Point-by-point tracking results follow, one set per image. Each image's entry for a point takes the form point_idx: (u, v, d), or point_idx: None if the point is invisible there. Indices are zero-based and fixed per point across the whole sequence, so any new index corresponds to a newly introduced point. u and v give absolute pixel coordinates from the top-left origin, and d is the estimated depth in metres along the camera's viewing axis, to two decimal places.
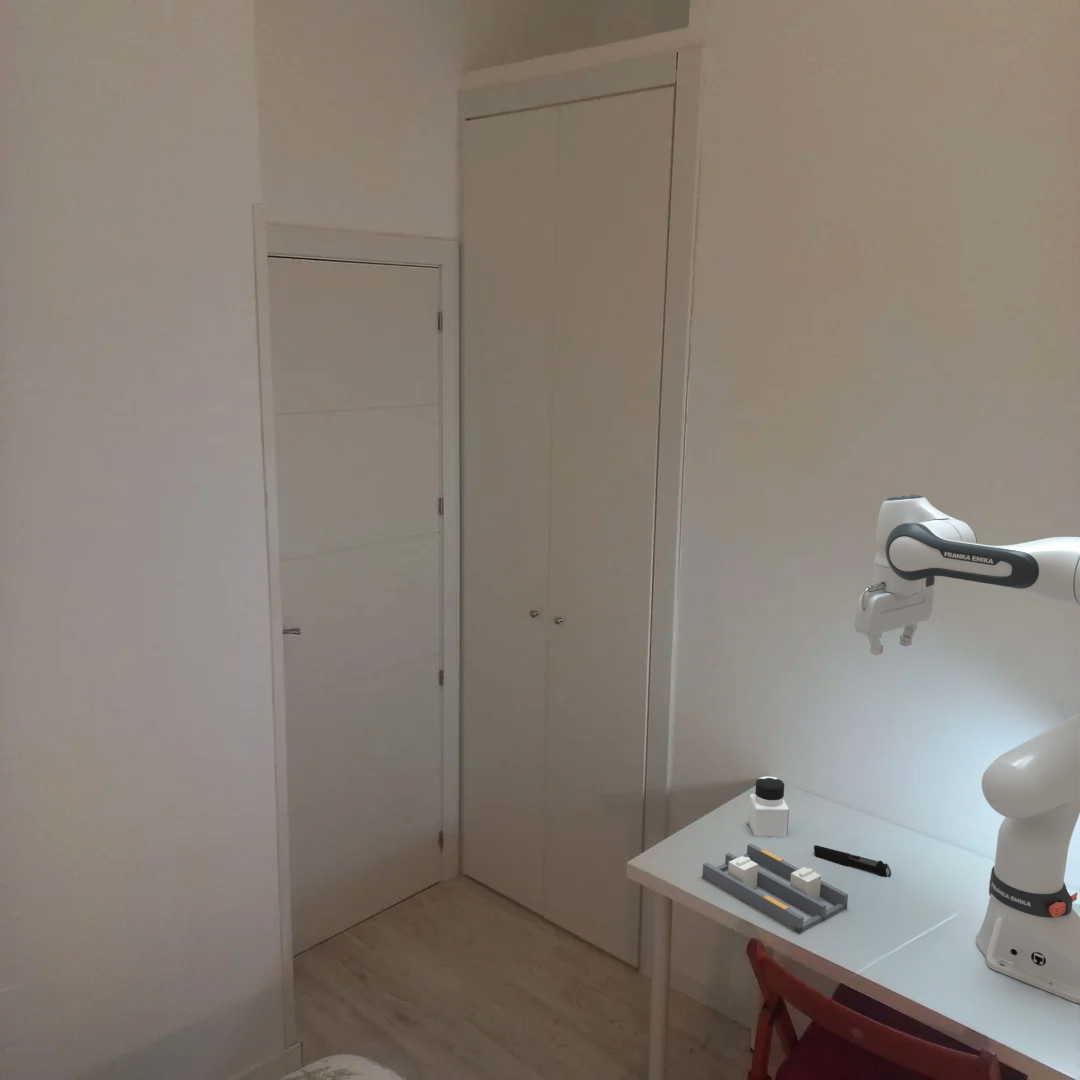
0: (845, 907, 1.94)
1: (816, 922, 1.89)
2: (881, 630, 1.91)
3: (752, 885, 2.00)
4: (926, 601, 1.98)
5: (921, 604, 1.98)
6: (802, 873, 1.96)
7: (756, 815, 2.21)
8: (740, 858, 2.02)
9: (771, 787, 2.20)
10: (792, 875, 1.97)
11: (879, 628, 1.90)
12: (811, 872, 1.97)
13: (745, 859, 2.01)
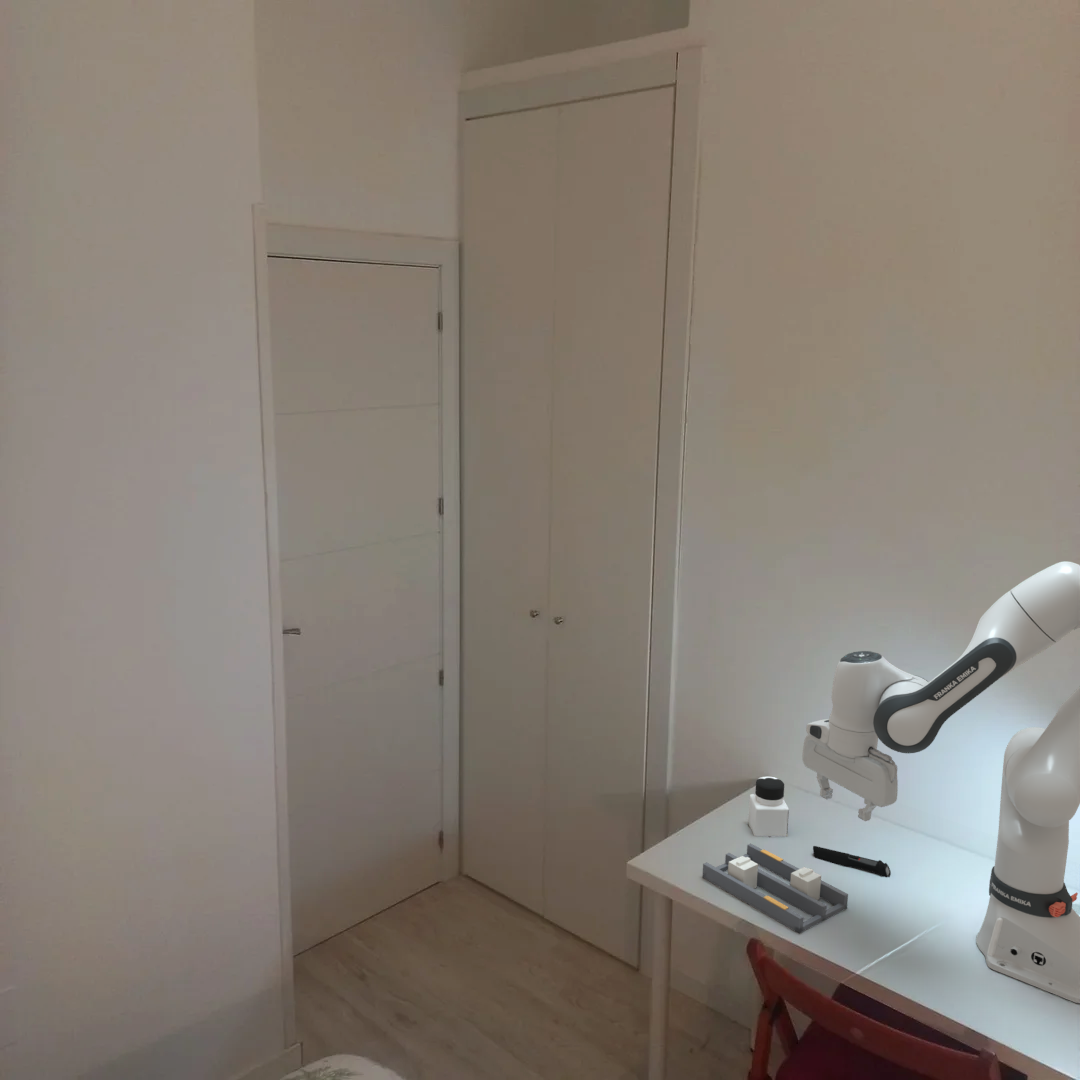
0: (845, 907, 1.94)
1: (816, 922, 1.89)
2: None
3: (752, 885, 2.00)
4: None
5: None
6: (802, 873, 1.96)
7: (756, 815, 2.21)
8: (740, 858, 2.02)
9: (771, 787, 2.20)
10: (792, 875, 1.97)
11: None
12: (811, 872, 1.97)
13: (745, 859, 2.01)
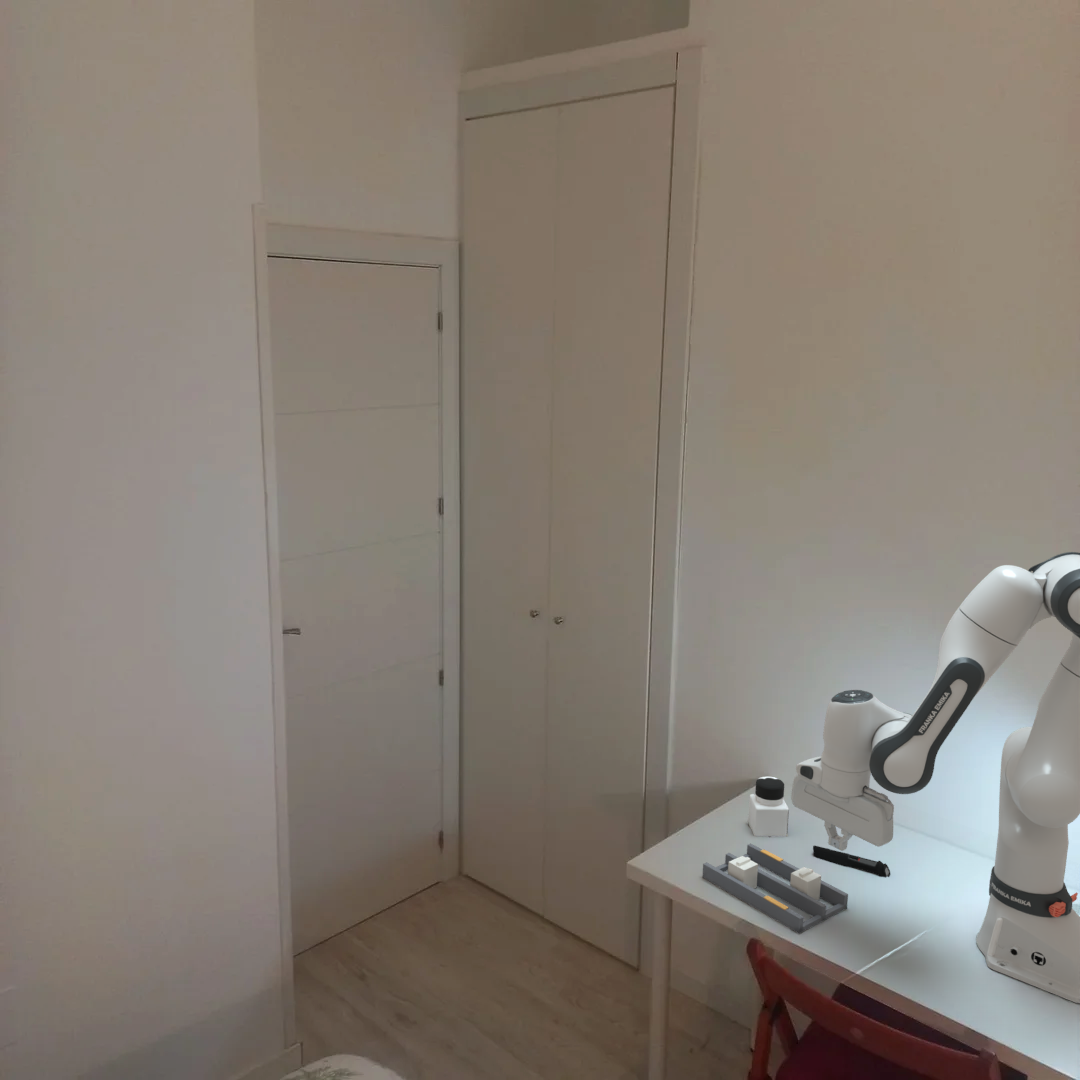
0: (845, 907, 1.94)
1: (816, 922, 1.89)
2: None
3: (752, 885, 2.00)
4: None
5: None
6: (802, 873, 1.96)
7: (756, 815, 2.21)
8: (740, 858, 2.02)
9: (771, 787, 2.20)
10: (792, 875, 1.97)
11: None
12: (811, 872, 1.97)
13: (745, 859, 2.01)
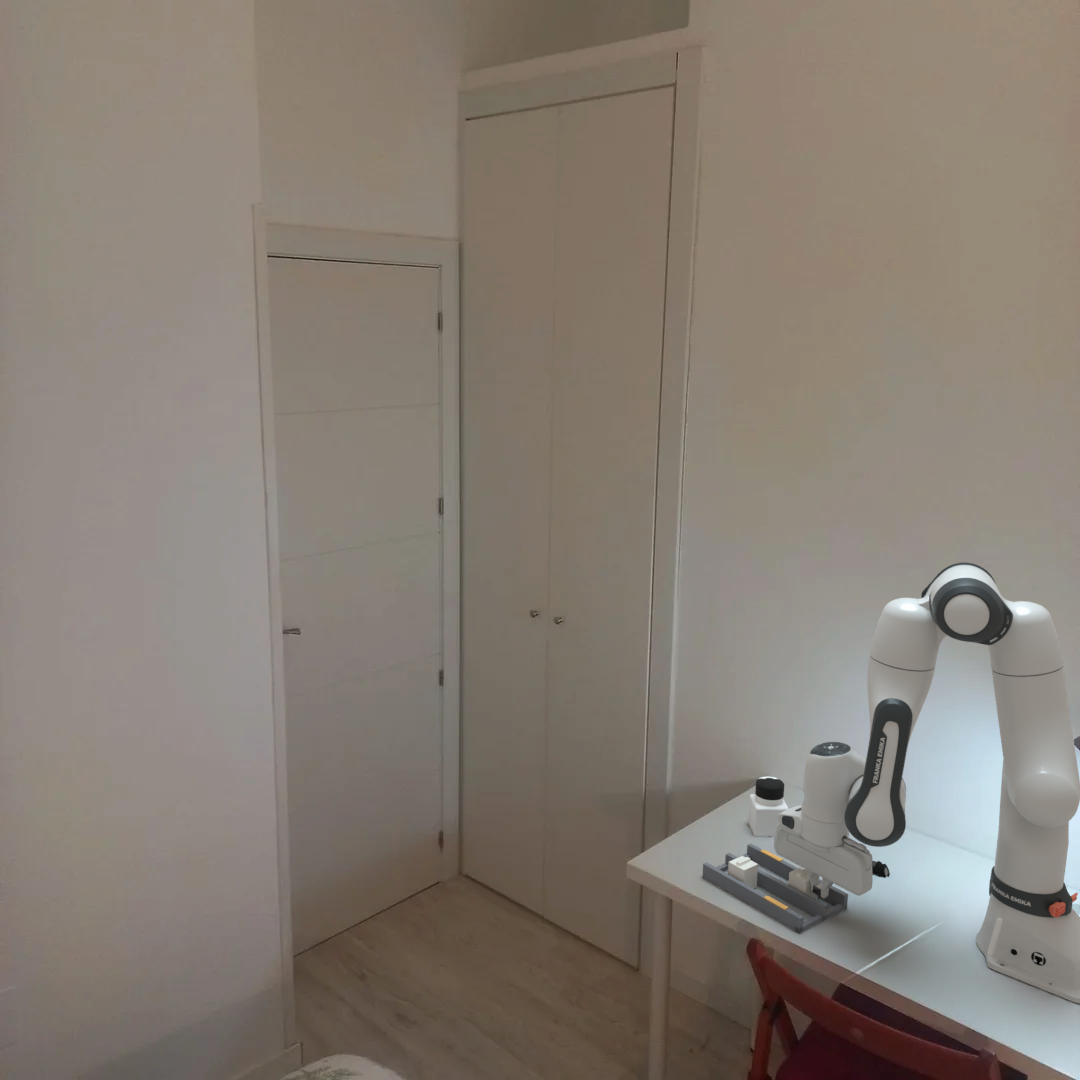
0: (845, 907, 1.94)
1: (816, 922, 1.89)
2: None
3: (752, 885, 2.00)
4: None
5: None
6: (801, 872, 1.96)
7: (756, 815, 2.21)
8: (740, 858, 2.02)
9: (771, 787, 2.20)
10: (790, 874, 1.97)
11: None
12: None
13: (745, 859, 2.01)
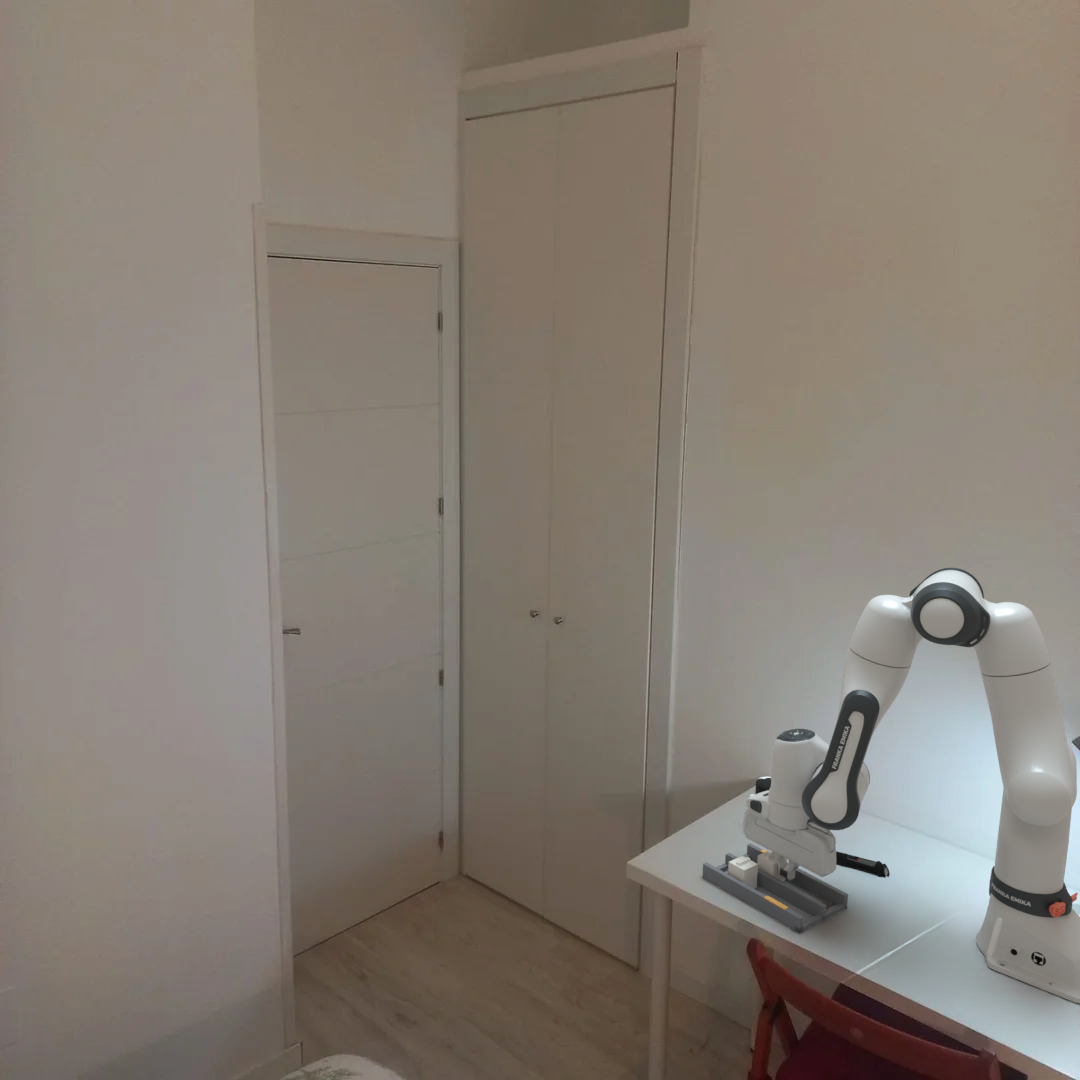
0: (845, 907, 1.94)
1: (816, 922, 1.89)
2: None
3: (752, 885, 2.00)
4: None
5: None
6: (768, 855, 2.02)
7: None
8: (740, 858, 2.02)
9: None
10: (759, 857, 2.03)
11: None
12: None
13: (745, 859, 2.01)
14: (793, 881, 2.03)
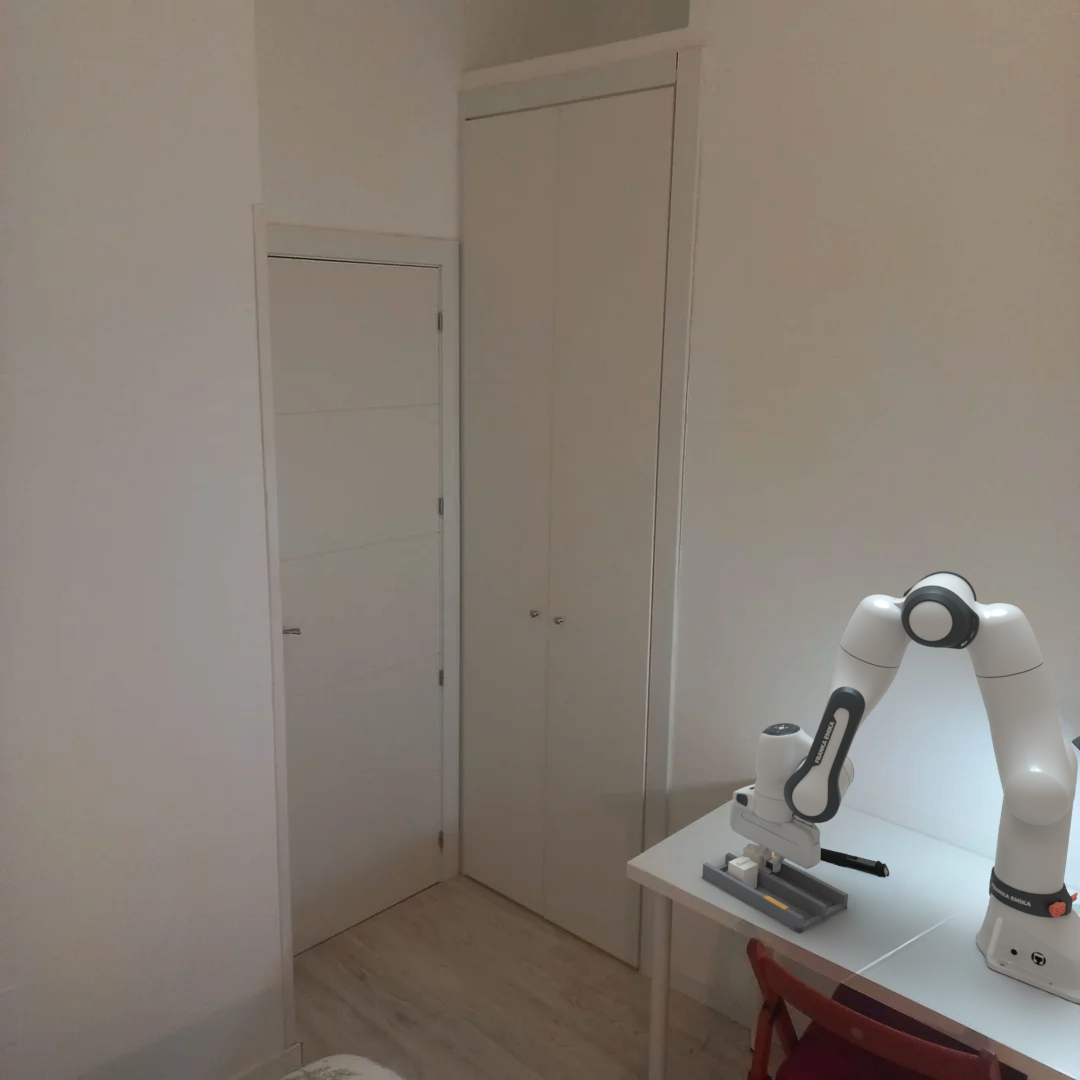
0: (845, 907, 1.94)
1: (816, 922, 1.89)
2: None
3: (752, 885, 2.00)
4: None
5: None
6: (754, 848, 2.05)
7: None
8: (740, 858, 2.02)
9: None
10: (745, 850, 2.06)
11: None
12: None
13: (745, 859, 2.01)
14: (793, 881, 2.03)
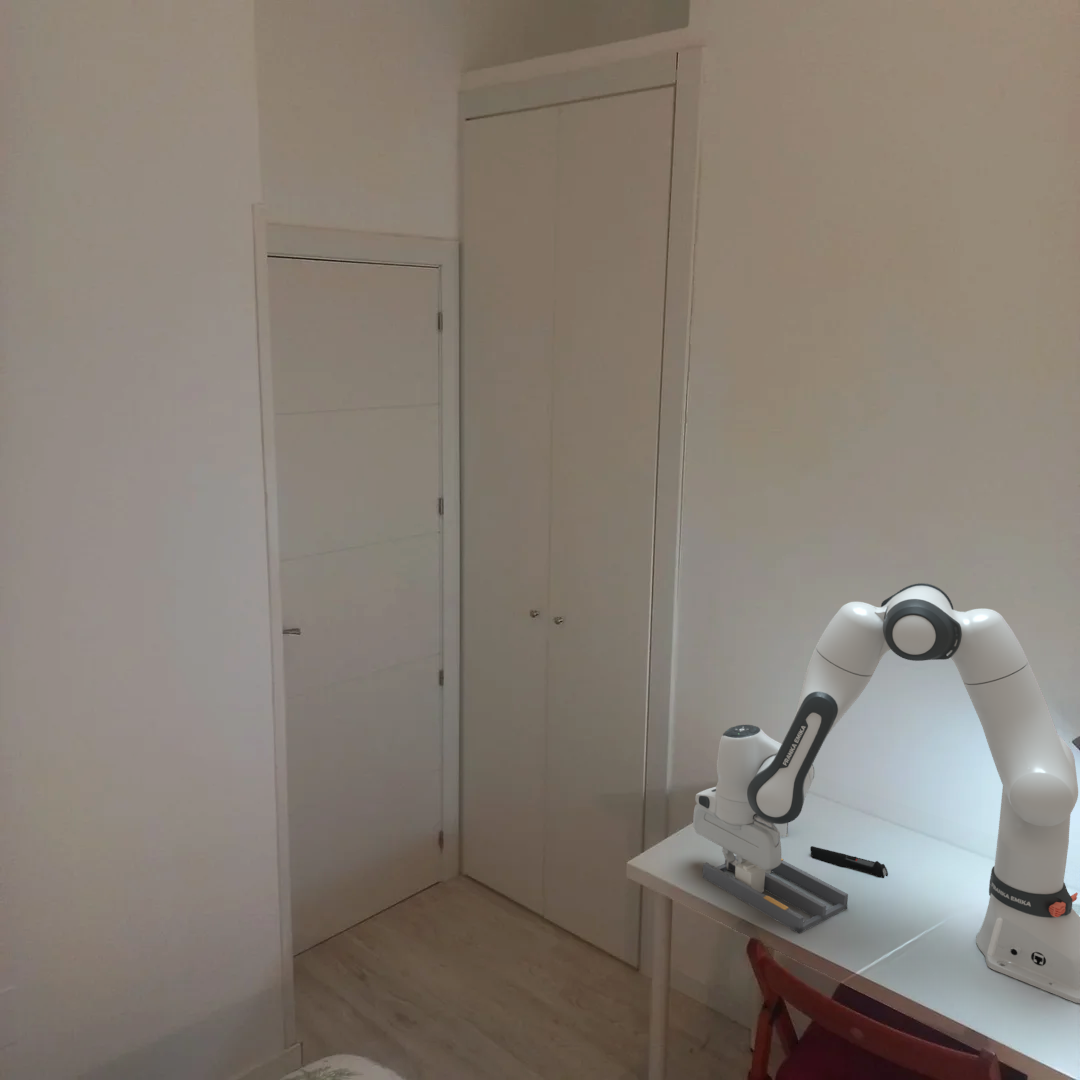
0: (845, 907, 1.94)
1: (816, 922, 1.89)
2: None
3: (759, 889, 1.99)
4: None
5: None
6: None
7: None
8: (747, 862, 2.01)
9: None
10: None
11: None
12: None
13: (752, 863, 1.99)
14: (793, 881, 2.03)
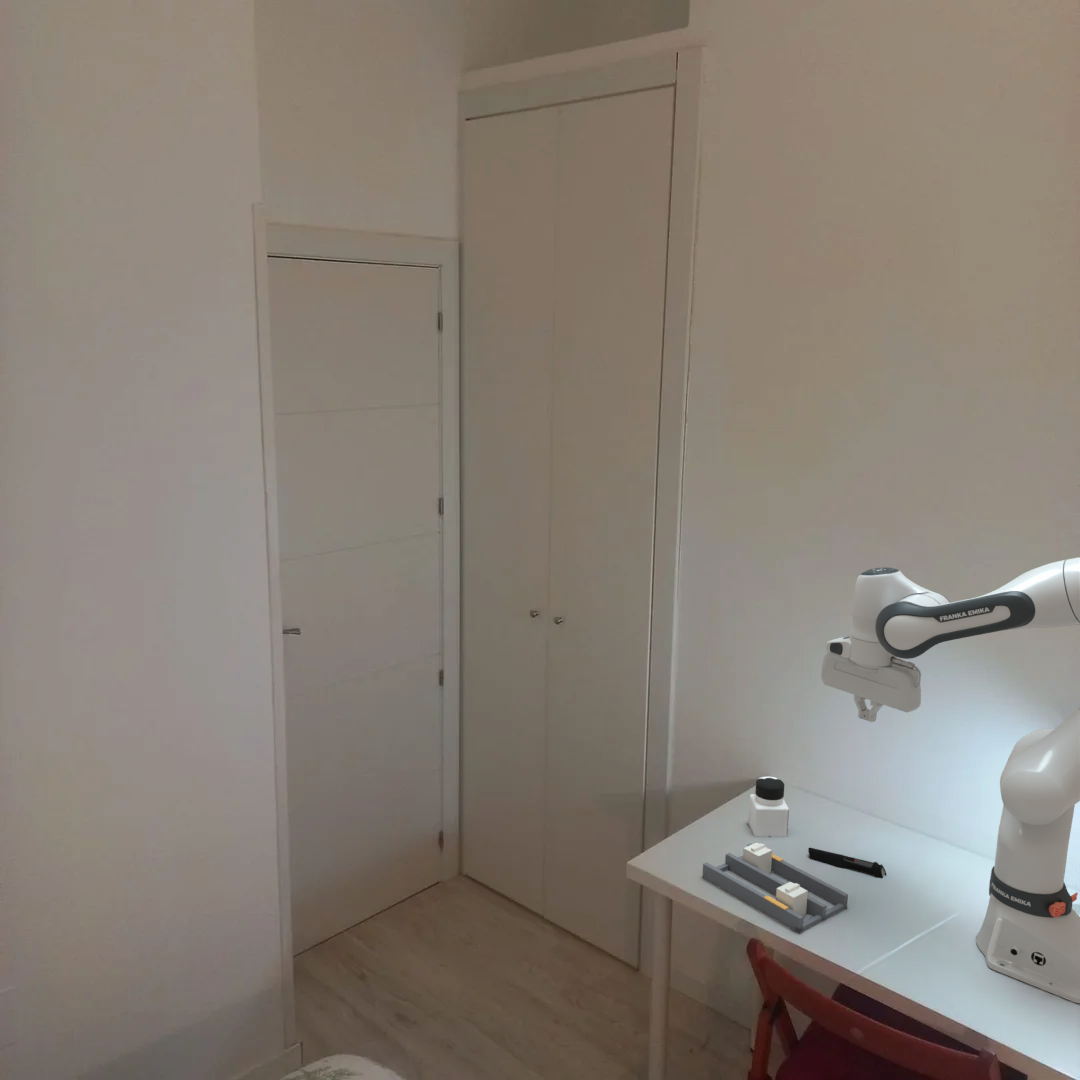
0: (845, 907, 1.94)
1: (816, 922, 1.89)
2: None
3: (801, 913, 1.91)
4: None
5: None
6: (754, 848, 2.05)
7: (756, 815, 2.21)
8: (788, 884, 1.93)
9: (771, 787, 2.20)
10: (744, 850, 2.06)
11: None
12: (763, 847, 2.06)
13: (794, 885, 1.91)
14: (793, 881, 2.03)
